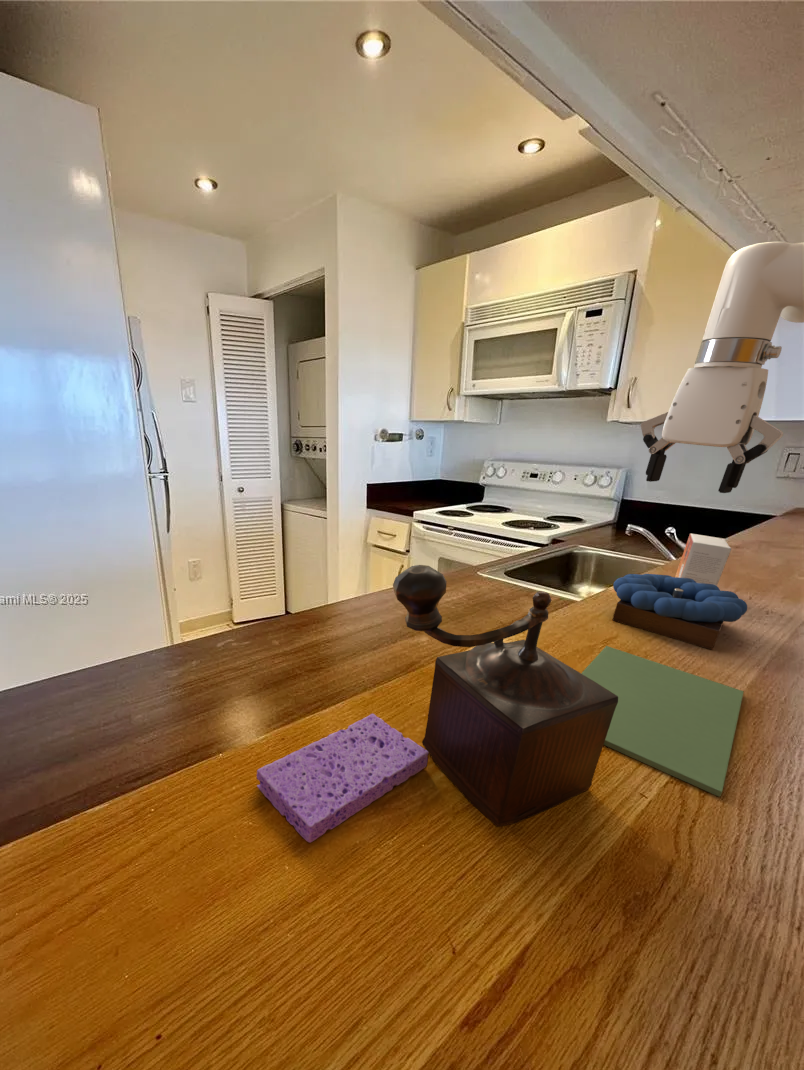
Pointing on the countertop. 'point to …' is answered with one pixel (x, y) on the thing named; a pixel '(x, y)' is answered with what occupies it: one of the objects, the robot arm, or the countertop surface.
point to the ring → (657, 597)
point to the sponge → (339, 775)
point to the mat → (669, 717)
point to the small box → (703, 559)
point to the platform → (669, 624)
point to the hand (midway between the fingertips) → (686, 486)
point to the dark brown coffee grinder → (507, 710)
